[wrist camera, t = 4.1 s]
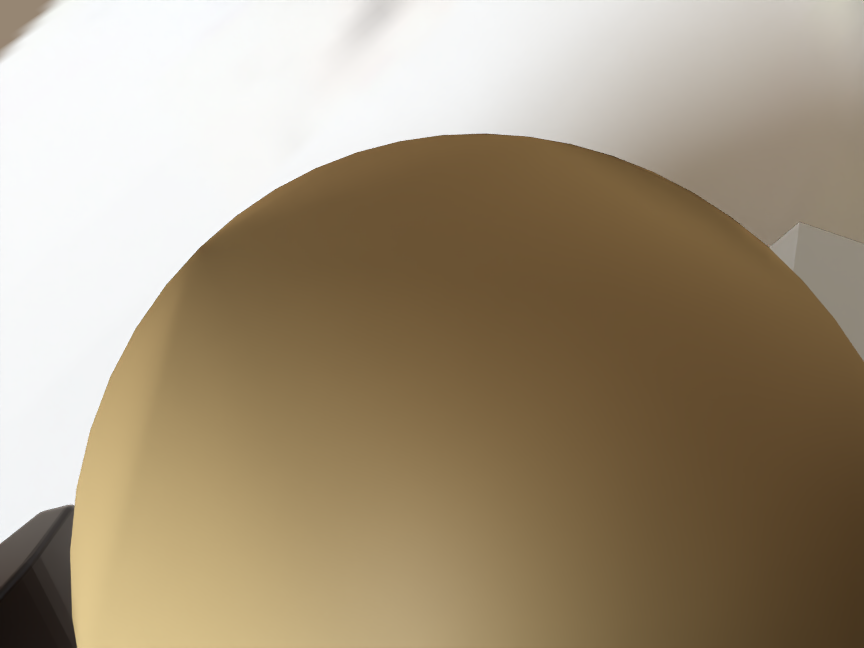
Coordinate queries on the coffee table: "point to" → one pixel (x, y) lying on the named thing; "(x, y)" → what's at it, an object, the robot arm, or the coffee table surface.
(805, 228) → the caster cart
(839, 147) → the coffee table surface
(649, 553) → the cylinder
